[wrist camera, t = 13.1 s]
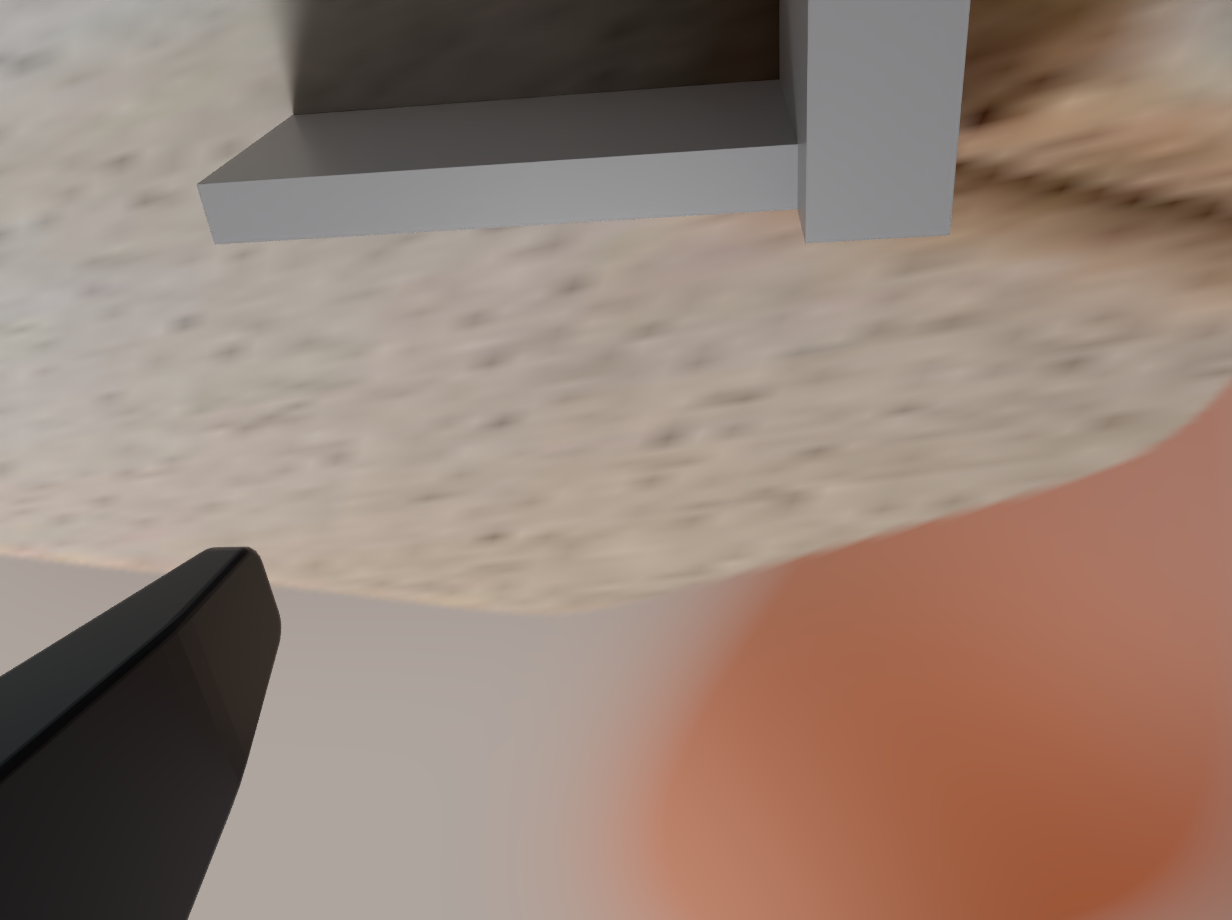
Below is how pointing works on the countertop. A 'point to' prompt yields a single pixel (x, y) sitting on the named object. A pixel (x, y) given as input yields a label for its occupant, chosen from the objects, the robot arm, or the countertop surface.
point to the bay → (642, 146)
